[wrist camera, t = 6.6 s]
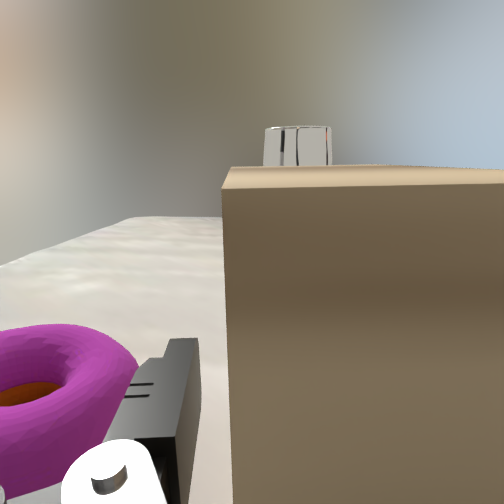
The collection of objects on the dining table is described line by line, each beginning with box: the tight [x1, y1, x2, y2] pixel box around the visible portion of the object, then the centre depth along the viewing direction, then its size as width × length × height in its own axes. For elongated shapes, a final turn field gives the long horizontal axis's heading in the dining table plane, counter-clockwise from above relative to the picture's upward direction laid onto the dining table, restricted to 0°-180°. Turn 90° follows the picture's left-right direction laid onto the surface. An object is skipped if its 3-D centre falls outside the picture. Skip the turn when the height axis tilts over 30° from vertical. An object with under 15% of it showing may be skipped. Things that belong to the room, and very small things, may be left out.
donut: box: [0, 324, 139, 500], centre depth 15 cm, size 10×10×5 cm
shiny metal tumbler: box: [263, 126, 332, 166], centre depth 37 cm, size 7×7×15 cm
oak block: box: [221, 165, 504, 504], centre depth 8 cm, size 7×4×12 cm, turn 3°
